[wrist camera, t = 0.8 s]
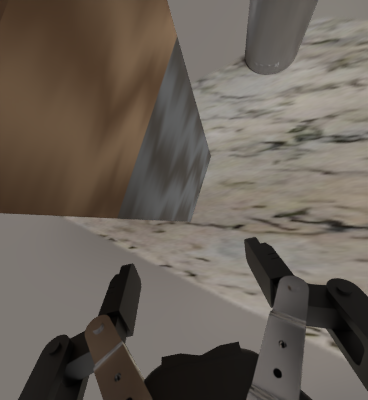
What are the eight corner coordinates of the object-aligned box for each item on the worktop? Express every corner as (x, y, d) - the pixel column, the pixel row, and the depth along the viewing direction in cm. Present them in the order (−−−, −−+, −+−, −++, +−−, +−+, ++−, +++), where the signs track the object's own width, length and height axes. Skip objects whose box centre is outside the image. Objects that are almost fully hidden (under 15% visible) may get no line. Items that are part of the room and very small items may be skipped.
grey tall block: (142, 140, 40) (-211, -194, 8) (210, 156, 36) (62, -374, 4) (123, 199, 39) (-343, 94, 7) (190, 221, 36) (-172, 204, 3)
